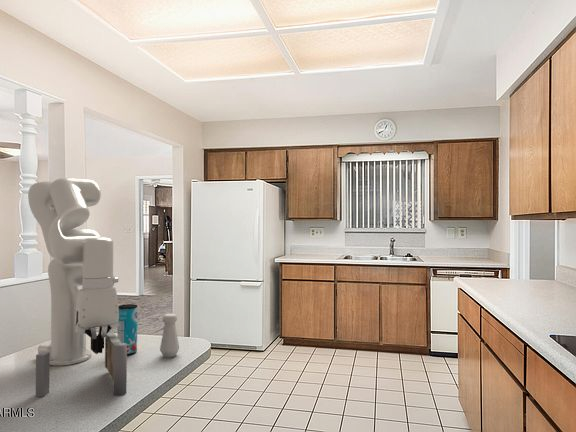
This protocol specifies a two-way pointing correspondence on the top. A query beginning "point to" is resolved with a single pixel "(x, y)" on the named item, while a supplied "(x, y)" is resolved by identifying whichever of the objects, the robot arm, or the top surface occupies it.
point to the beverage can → (128, 327)
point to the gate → (110, 352)
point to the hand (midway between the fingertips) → (97, 352)
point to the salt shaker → (169, 337)
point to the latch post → (42, 374)
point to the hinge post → (120, 369)
